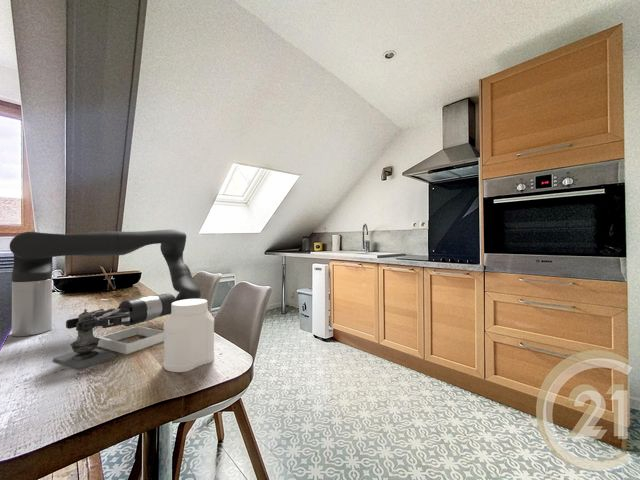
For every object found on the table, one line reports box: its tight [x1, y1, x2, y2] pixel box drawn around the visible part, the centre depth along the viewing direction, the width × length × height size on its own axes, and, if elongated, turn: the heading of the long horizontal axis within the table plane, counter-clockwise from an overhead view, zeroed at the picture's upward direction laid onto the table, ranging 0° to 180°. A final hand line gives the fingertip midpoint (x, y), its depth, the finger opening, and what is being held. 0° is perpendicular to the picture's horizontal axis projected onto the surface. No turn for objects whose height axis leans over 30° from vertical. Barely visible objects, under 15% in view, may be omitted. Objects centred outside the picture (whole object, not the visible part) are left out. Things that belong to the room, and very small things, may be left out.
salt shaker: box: [69, 308, 100, 360], centre depth 72 cm, size 6×6×12 cm
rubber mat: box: [53, 347, 117, 370], centre depth 71 cm, size 12×8×1 cm, turn 65°
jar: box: [162, 298, 215, 373], centre depth 70 cm, size 12×10×15 cm
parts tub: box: [95, 325, 164, 355], centre depth 82 cm, size 14×12×2 cm
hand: (72, 325), depth 69 cm, fingers open, 4 cm apart
